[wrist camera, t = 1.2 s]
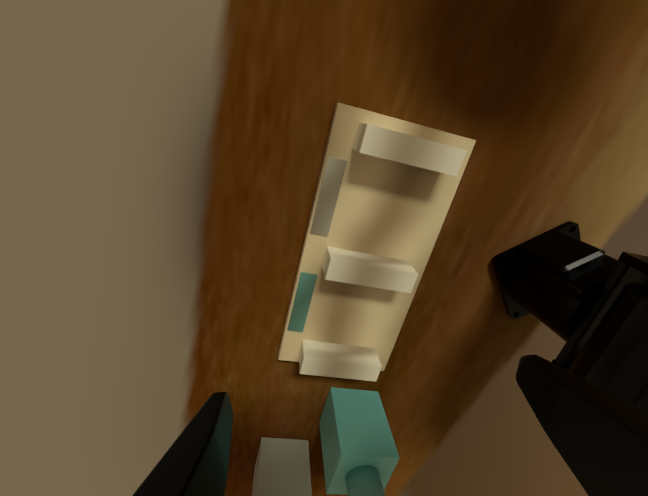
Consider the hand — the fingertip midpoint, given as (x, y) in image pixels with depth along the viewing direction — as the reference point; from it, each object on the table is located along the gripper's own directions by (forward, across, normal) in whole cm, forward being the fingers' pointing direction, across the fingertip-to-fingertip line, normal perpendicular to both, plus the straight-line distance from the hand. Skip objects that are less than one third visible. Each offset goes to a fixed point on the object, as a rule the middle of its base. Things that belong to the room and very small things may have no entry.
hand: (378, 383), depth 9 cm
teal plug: (+13, -1, +18) cm, 22 cm away
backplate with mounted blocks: (+13, -2, +2) cm, 14 cm away
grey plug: (+13, +6, +23) cm, 27 cm away
